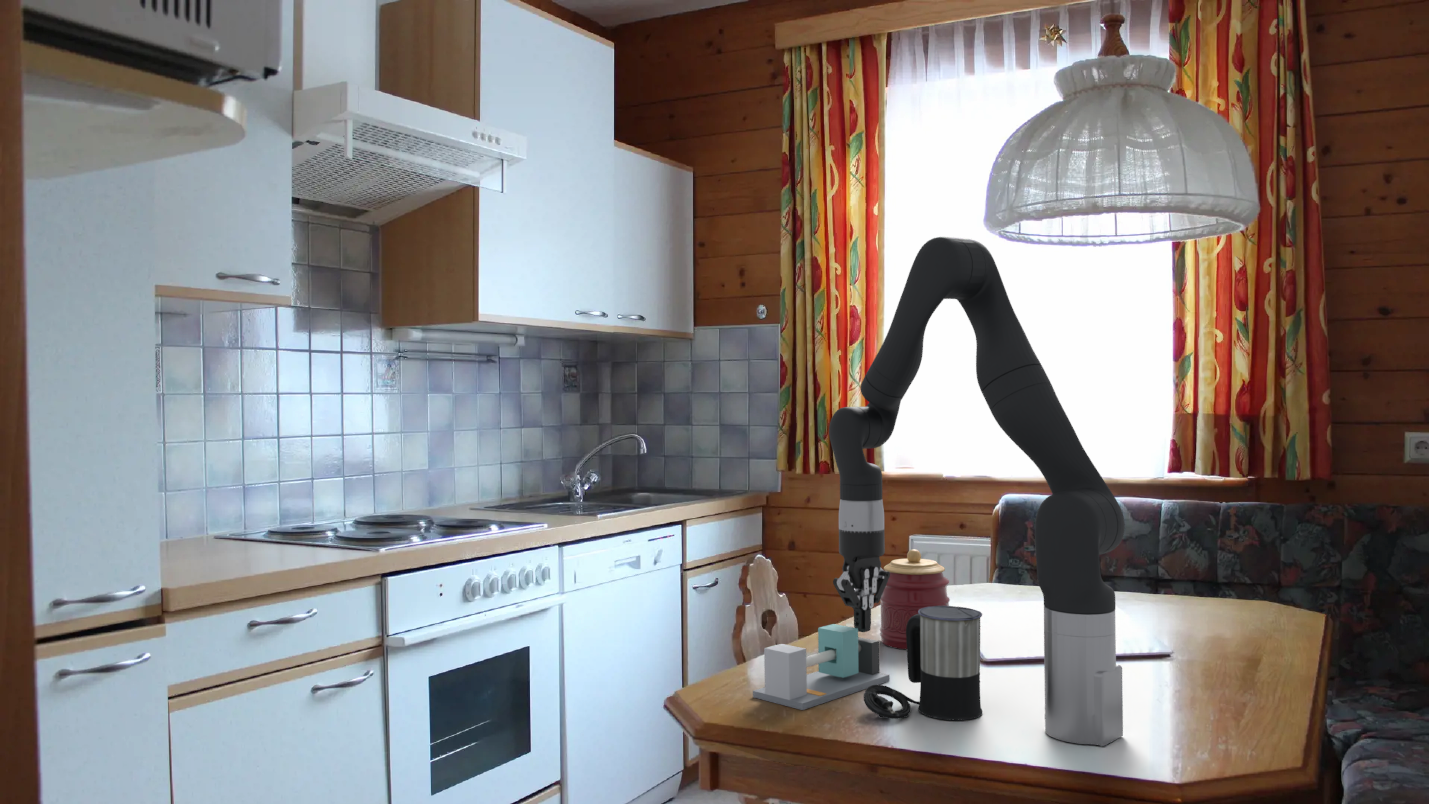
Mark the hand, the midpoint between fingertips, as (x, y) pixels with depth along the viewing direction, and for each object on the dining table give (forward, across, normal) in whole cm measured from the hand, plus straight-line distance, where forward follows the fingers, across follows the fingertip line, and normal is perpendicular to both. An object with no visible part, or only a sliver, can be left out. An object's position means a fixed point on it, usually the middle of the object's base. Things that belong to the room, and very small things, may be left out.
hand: (862, 630), depth 174 cm
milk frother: (+8, -11, -19) cm, 23 cm away
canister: (+8, +25, +7) cm, 28 cm away
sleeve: (+6, -6, 0) cm, 9 cm away
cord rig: (+8, -10, 0) cm, 13 cm away
